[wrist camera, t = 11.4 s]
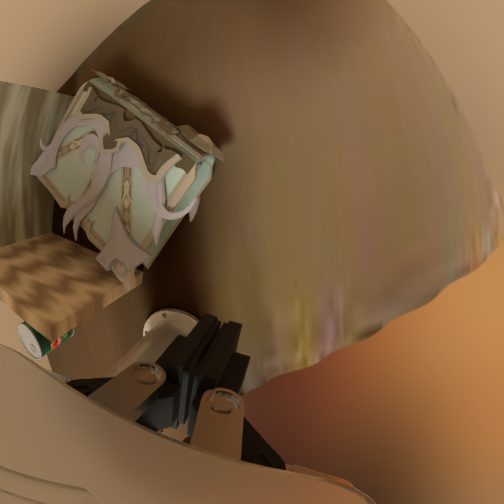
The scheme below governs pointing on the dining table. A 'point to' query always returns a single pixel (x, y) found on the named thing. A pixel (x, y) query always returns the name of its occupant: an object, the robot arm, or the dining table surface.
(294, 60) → the dining table surface
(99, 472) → the robot arm
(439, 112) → the dining table surface
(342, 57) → the dining table surface
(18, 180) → the wooden corner bracket
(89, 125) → the ornate book
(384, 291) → the dining table surface
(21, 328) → the canned tomato
